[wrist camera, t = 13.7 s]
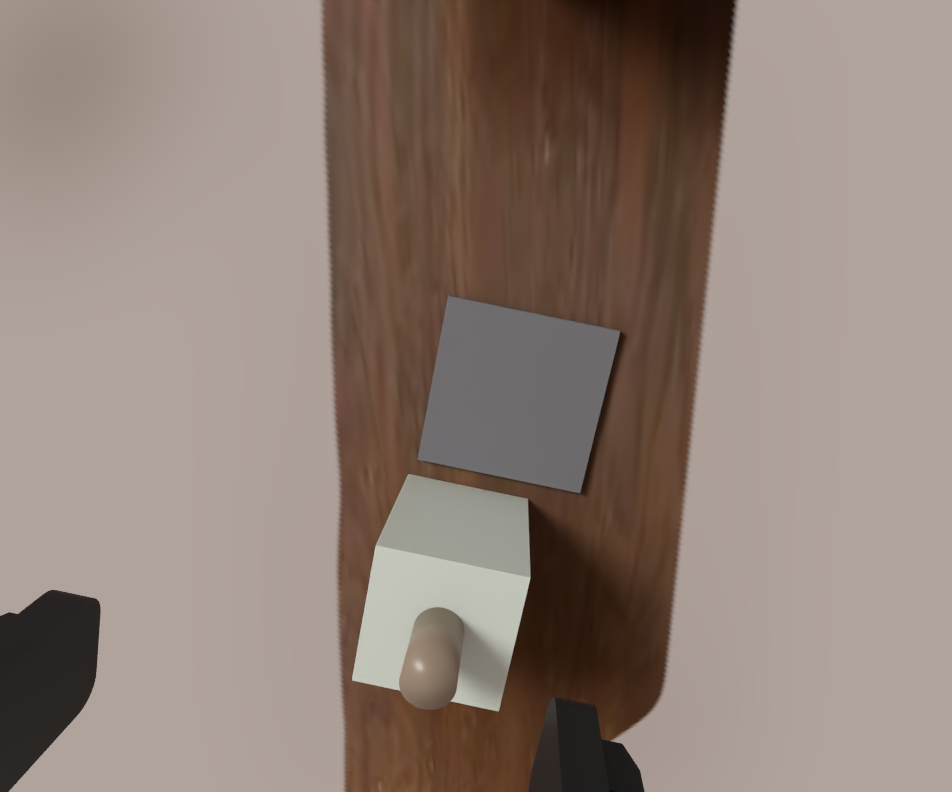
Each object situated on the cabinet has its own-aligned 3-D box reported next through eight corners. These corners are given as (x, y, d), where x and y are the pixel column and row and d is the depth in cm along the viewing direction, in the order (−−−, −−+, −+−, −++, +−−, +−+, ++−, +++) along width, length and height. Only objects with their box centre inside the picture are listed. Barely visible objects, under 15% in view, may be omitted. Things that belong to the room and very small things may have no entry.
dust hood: (408, 473, 51) (355, 588, 35) (527, 498, 51) (532, 626, 35) (388, 582, 53) (329, 739, 37) (503, 606, 53) (496, 774, 37)
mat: (448, 295, 48) (448, 296, 48) (619, 330, 48) (620, 331, 47) (418, 456, 51) (417, 459, 50) (579, 490, 51) (580, 493, 50)
